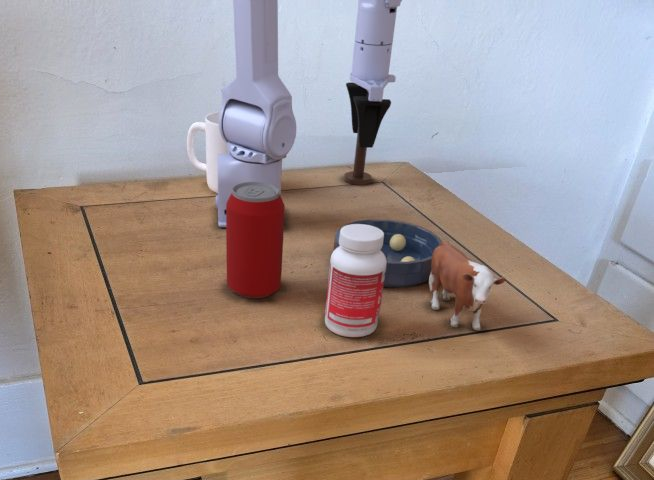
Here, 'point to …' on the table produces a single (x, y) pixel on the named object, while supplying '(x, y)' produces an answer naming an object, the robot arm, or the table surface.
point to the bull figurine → (460, 282)
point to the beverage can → (254, 239)
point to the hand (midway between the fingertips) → (362, 139)
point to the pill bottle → (356, 281)
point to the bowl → (404, 251)
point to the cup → (208, 148)
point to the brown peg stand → (358, 168)
